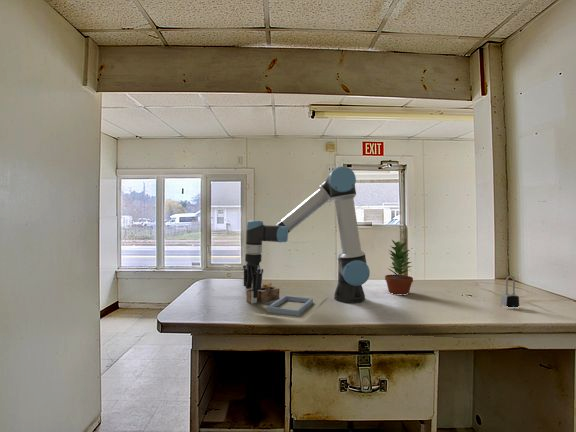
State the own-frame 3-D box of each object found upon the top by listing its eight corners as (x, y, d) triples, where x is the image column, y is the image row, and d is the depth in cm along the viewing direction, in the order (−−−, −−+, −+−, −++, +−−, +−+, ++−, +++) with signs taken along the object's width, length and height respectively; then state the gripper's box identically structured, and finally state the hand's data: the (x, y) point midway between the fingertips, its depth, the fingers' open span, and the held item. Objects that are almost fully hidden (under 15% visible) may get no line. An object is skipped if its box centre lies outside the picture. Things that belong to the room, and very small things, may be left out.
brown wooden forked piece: (270, 295, 158) (270, 285, 158) (279, 298, 153) (279, 288, 152) (244, 300, 148) (244, 289, 148) (252, 304, 143) (252, 293, 142)
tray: (312, 304, 146) (313, 298, 146) (298, 318, 127) (298, 310, 127) (285, 301, 151) (285, 295, 151) (266, 313, 132) (266, 306, 132)
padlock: (513, 306, 148) (513, 275, 148) (520, 309, 144) (520, 276, 144) (499, 306, 148) (500, 274, 148) (506, 309, 143) (506, 276, 143)
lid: (284, 299, 155) (284, 282, 155) (274, 306, 143) (274, 287, 143) (260, 296, 159) (261, 279, 159) (248, 303, 147) (249, 285, 147)
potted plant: (418, 296, 164) (419, 239, 164) (389, 296, 164) (390, 239, 164) (408, 290, 179) (408, 237, 179) (381, 289, 179) (382, 237, 179)
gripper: (237, 251, 150) (235, 300, 150) (257, 256, 138) (254, 309, 138) (250, 251, 155) (248, 298, 155) (270, 255, 143) (268, 306, 143)
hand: (251, 303), depth 146 cm, fingers closed on brown wooden forked piece, 3 cm apart
